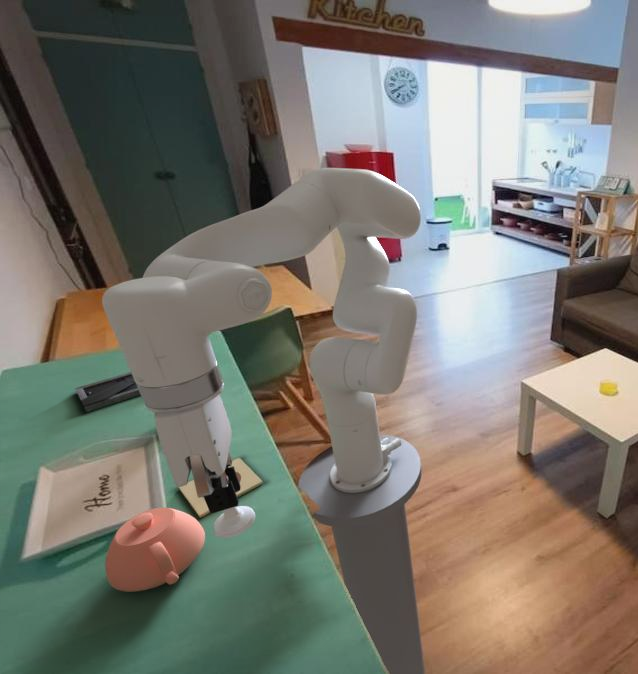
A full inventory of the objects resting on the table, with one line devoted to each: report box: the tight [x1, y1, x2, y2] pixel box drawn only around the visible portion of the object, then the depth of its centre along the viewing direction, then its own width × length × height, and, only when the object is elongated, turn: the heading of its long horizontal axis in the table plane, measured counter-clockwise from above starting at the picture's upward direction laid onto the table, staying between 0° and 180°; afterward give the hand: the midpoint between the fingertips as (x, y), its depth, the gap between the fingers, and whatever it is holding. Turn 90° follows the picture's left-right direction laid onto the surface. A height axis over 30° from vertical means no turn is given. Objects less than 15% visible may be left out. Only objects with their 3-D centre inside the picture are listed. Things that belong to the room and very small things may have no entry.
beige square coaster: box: [178, 457, 264, 519], centre depth 83 cm, size 11×11×1 cm
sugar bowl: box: [104, 507, 206, 593], centre depth 65 cm, size 12×14×10 cm
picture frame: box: [74, 371, 141, 413], centre depth 114 cm, size 13×2×18 cm
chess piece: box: [209, 475, 256, 539], centre depth 56 cm, size 5×5×10 cm
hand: (226, 499), depth 56 cm, fingers closed on chess piece
